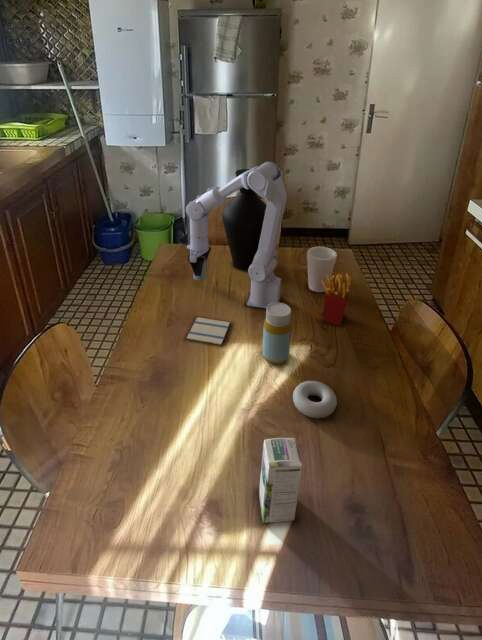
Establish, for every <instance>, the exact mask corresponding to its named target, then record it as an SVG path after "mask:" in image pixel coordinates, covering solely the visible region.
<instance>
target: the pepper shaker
mask: <svg viewBox="0 0 482 640" xmlns="http://www.w3.org/2000/svg"><path fill="white" fill-rule="evenodd" d="M200 257H201V258H205V257H203V255H201V256H200ZM192 274H193V275H192V276H193V280H195V281H199V282H203V281H205V280H207V278H208V277H207V276H208V275H207V274H208V273H207V263H206V259H205V260H204V263H203V266H202V273H201V276H195V275H194V272H193V271H192Z"/></svg>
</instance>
